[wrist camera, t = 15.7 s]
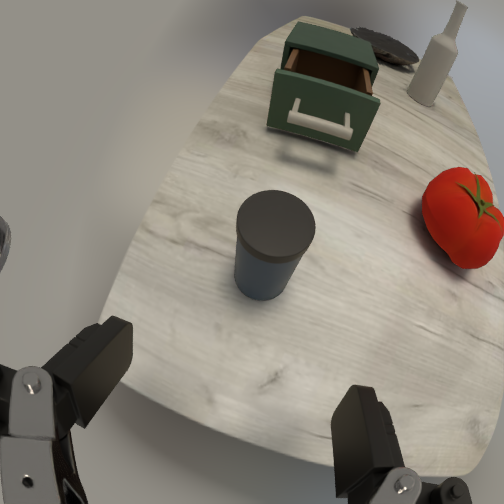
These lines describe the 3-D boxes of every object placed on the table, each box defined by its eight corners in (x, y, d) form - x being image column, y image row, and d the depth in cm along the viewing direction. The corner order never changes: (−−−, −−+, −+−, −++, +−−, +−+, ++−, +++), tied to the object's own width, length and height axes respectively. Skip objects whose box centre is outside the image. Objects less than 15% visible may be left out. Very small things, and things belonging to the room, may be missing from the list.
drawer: (357, 176, 31) (384, 125, 24) (257, 148, 32) (265, 89, 24) (356, 103, 39) (371, 63, 32) (284, 83, 40) (292, 40, 32)
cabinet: (358, 119, 39) (379, 68, 30) (275, 95, 39) (285, 40, 30) (356, 82, 45) (370, 42, 36) (289, 64, 46) (298, 21, 37)
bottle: (406, 96, 46) (450, -5, 22) (406, 86, 49) (445, -6, 24) (432, 110, 46) (480, 14, 21) (430, 99, 48) (472, 11, 24)
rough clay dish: (427, 75, 58) (432, 62, 53) (389, 73, 51) (396, 57, 47) (375, 41, 65) (379, 29, 61) (330, 37, 59) (333, 23, 54)
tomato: (402, 183, 33) (432, 139, 25) (465, 208, 33) (497, 174, 25) (413, 269, 27) (461, 230, 20) (481, 286, 27) (525, 257, 19)
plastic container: (226, 293, 24) (226, 244, 16) (241, 244, 27) (248, 181, 19) (281, 308, 24) (309, 266, 16) (292, 258, 26) (320, 201, 18)
